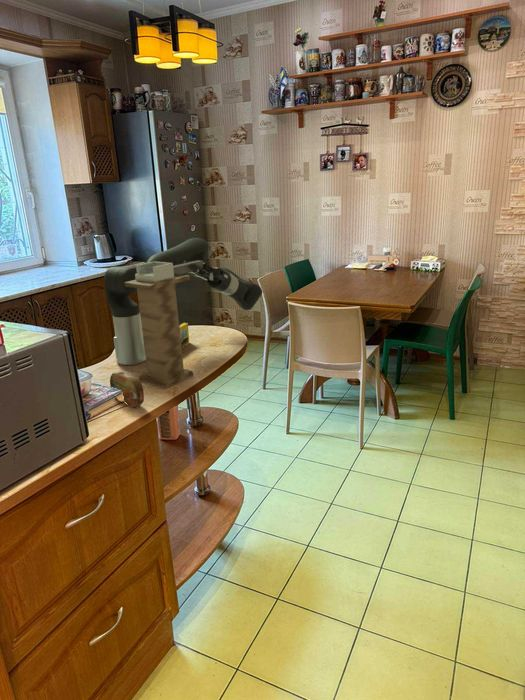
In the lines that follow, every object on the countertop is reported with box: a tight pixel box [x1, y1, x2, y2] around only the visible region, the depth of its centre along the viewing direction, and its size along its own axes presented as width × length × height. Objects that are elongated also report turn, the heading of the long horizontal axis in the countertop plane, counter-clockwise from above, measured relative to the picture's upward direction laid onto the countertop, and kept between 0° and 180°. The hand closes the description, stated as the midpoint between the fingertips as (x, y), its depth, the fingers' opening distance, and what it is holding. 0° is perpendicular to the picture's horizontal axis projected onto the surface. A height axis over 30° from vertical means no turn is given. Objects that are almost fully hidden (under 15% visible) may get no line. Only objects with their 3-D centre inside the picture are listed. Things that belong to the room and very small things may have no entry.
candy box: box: [179, 322, 190, 349], centre depth 183 cm, size 16×2×8 cm, turn 161°
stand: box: [125, 274, 194, 389], centre depth 153 cm, size 16×12×32 cm
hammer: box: [135, 260, 203, 283], centre depth 152 cm, size 24×8×4 cm, turn 144°
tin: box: [109, 371, 145, 409], centre depth 141 cm, size 15×3×8 cm, turn 45°
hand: (192, 264), depth 159 cm, fingers open, 8 cm apart
